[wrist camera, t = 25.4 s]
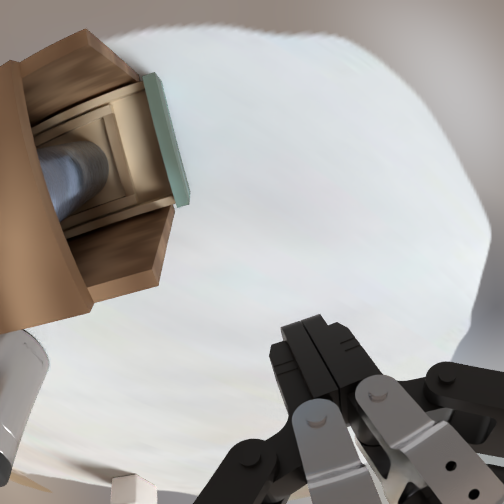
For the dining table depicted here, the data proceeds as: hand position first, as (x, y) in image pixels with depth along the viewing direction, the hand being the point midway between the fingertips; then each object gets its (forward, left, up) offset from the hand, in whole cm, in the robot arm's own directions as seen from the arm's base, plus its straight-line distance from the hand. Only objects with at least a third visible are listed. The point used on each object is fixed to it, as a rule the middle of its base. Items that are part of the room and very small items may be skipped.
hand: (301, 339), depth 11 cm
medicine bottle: (-43, -43, -21) cm, 65 cm away
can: (-11, +10, -19) cm, 24 cm away
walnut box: (-12, +10, -21) cm, 26 cm away
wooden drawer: (-11, +10, -21) cm, 25 cm away
